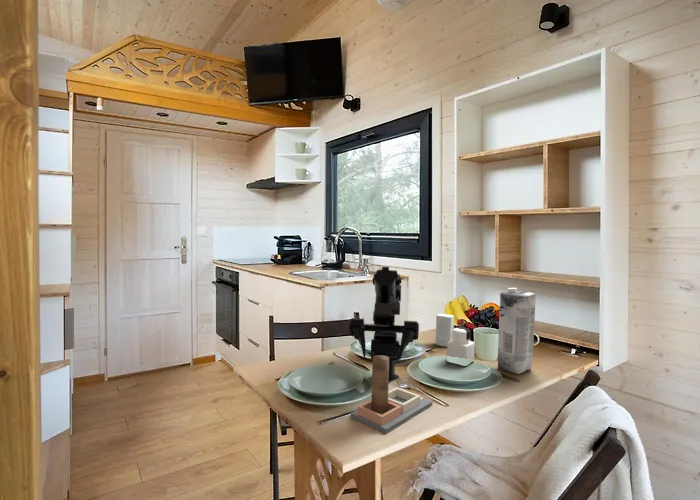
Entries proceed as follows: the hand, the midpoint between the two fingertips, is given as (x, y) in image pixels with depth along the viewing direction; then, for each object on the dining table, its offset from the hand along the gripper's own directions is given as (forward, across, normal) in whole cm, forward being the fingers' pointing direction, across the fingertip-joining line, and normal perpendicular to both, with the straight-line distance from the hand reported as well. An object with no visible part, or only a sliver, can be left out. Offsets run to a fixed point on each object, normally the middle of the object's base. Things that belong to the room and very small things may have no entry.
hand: (382, 357), depth 103 cm
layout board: (+11, +3, +7) cm, 13 cm away
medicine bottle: (-18, +25, +36) cm, 48 cm away
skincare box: (-31, +22, +50) cm, 63 cm away
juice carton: (-15, +43, +34) cm, 56 cm away
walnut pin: (+13, 0, +3) cm, 14 cm away
